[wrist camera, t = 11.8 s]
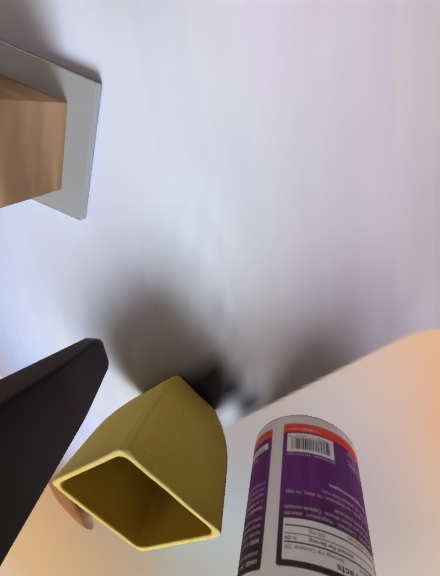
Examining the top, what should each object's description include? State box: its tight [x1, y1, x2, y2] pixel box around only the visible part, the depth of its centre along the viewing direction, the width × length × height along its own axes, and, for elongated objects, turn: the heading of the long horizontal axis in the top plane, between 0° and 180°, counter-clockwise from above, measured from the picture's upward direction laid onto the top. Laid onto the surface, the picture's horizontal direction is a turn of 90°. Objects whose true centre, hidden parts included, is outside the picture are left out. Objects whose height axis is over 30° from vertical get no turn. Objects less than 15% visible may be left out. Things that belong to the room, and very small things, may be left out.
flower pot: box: [52, 376, 227, 551], centre depth 24 cm, size 9×9×9 cm
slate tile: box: [0, 41, 102, 220], centre depth 19 cm, size 8×8×1 cm
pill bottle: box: [237, 415, 376, 576], centre depth 20 cm, size 8×8×14 cm
